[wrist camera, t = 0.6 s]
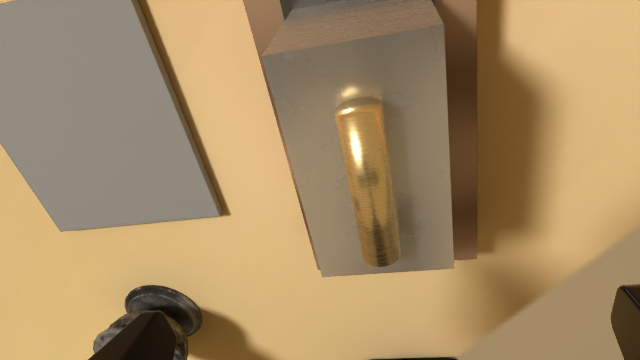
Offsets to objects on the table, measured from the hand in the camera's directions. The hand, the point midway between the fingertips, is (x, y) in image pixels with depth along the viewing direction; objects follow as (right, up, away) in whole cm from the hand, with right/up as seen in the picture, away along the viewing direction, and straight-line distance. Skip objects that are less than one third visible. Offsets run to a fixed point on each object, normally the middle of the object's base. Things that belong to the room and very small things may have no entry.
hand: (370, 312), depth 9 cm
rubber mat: (-12, +5, +13) cm, 19 cm away
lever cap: (+1, +6, +8) cm, 10 cm away
